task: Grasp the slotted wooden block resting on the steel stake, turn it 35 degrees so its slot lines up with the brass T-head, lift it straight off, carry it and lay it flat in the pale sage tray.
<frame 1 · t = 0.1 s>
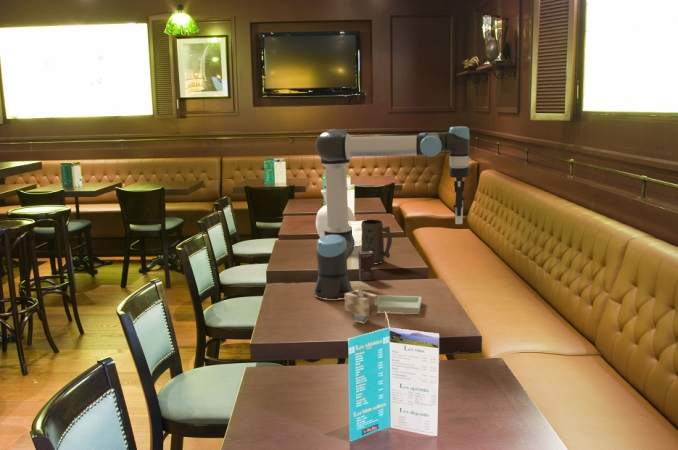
hand: (459, 220, 253), 28 cm above the table, fingers open, 13 cm apart
box: (366, 279, 275), on the table
beer stein: (377, 262, 300), on the table
vase: (336, 245, 335), on the table
slotted wooden block: (361, 310, 225), point 4 cm above the table, touching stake
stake: (361, 321, 226), on the table
tray: (397, 308, 238), on the table
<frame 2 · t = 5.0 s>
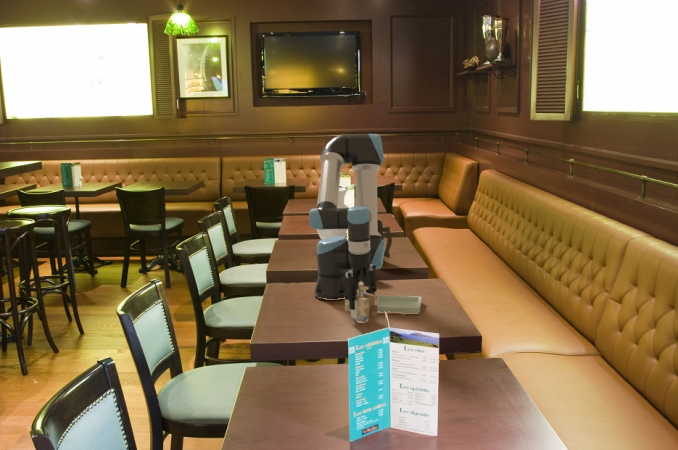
hand: (361, 314, 225), 2 cm above the table, fingers closed on slotted wooden block, 6 cm apart
slotted wooden block: (361, 310, 225), point 4 cm above the table, touching gripper, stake
everything else where it was.
when the fingers open (3 cm above the table, at t = 11.2 s): slotted wooden block drops 3 cm, resting on tray.
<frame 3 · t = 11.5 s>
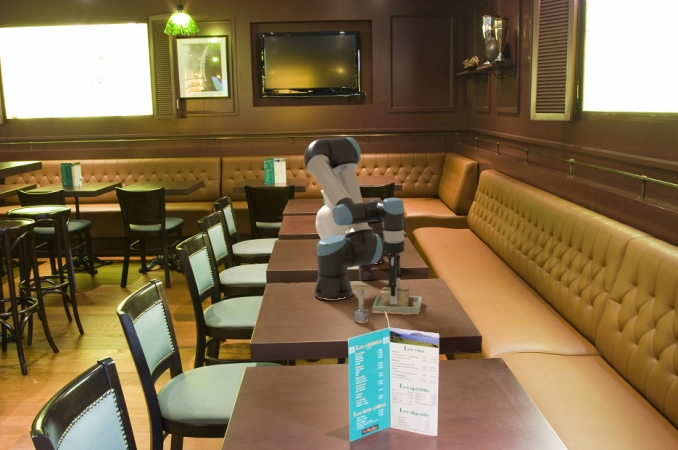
hand: (395, 299, 237), 3 cm above the table, fingers open, 10 cm apart
slotted wooden block: (395, 305, 238), point 1 cm above the table, touching tray
everything else where it was.
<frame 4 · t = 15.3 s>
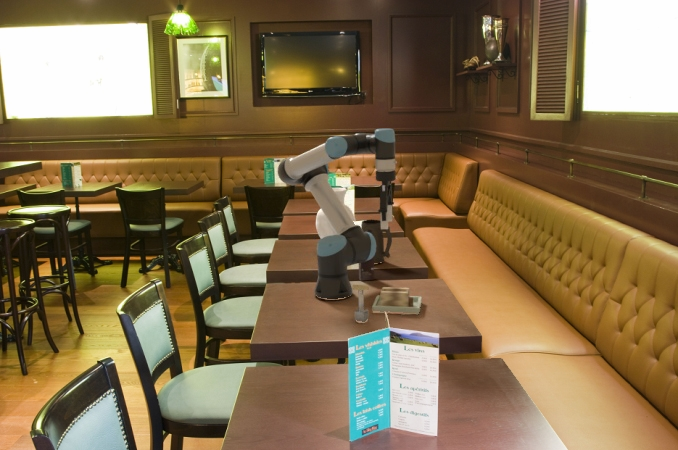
hand: (386, 225, 245), 29 cm above the table, fingers open, 13 cm apart
nothing on the table moved.
at the end: slotted wooden block inside the target area on the tray (0.3 cm from its centre), point 1.0 cm above the tray's base; slotted wooden block tilted 0°; the gripper is holding nothing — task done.
